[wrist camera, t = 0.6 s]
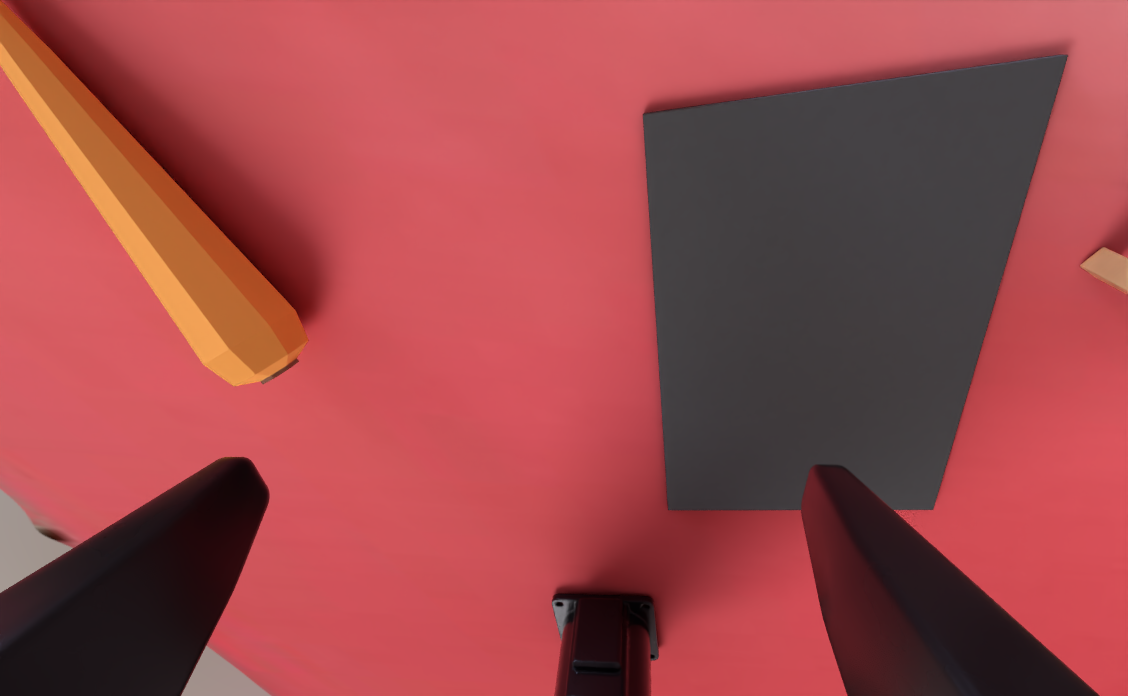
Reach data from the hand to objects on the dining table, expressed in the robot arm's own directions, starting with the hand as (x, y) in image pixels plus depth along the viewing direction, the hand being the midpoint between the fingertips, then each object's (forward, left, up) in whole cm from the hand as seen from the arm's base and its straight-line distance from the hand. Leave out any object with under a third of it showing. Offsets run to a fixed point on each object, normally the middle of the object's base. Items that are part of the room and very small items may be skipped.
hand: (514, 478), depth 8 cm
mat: (-7, -9, -15) cm, 18 cm away
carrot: (+6, +20, -13) cm, 25 cm away
